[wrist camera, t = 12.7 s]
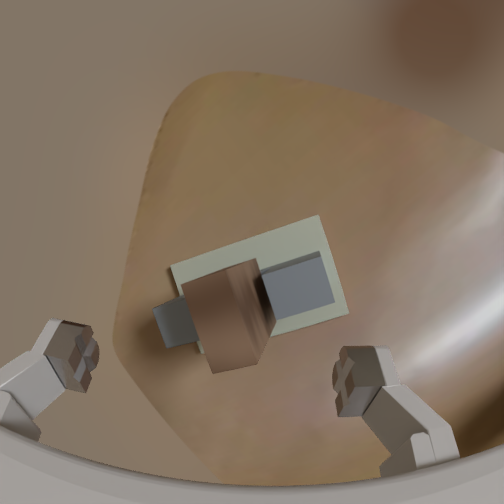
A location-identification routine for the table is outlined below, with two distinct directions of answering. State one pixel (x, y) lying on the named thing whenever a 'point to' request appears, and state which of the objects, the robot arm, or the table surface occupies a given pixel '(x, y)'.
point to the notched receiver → (266, 280)
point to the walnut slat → (231, 315)
